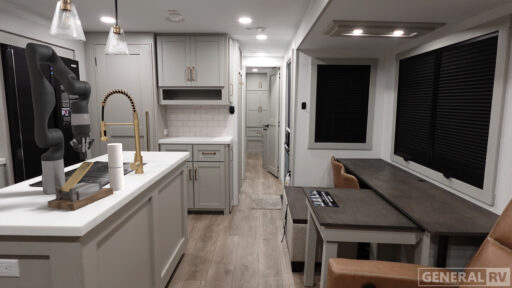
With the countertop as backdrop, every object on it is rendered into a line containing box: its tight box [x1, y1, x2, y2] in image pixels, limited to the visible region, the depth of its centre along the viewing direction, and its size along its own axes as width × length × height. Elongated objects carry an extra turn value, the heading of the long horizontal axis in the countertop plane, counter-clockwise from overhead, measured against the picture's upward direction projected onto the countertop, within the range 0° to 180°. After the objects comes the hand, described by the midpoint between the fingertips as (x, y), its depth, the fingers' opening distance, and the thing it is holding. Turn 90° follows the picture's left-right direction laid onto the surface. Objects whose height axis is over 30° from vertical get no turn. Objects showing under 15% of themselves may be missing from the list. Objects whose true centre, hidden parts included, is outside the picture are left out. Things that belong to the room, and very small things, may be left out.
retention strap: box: [59, 161, 94, 192], centre depth 132 cm, size 5×18×2 cm
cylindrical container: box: [106, 142, 125, 192], centre depth 153 cm, size 7×7×25 cm
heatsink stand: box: [47, 180, 114, 212], centre depth 135 cm, size 14×24×9 cm, turn 168°
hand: (83, 159), depth 135 cm, fingers closed
